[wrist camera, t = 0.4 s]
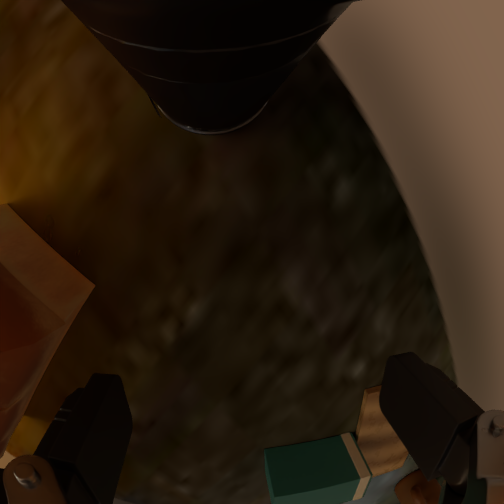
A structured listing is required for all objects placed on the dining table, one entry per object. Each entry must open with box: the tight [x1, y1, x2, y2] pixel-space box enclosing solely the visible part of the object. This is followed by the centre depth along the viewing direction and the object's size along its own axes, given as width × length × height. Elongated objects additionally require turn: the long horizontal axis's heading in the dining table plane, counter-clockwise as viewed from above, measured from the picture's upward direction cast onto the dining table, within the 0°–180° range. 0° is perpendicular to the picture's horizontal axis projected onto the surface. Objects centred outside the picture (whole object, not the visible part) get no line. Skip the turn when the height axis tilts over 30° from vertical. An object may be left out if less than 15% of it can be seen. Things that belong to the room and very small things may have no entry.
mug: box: [395, 469, 441, 504], centre depth 35 cm, size 12×8×9 cm, turn 37°
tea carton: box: [264, 433, 373, 504], centre depth 29 cm, size 6×11×8 cm, turn 93°
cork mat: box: [355, 385, 409, 477], centre depth 34 cm, size 20×10×1 cm, turn 3°
